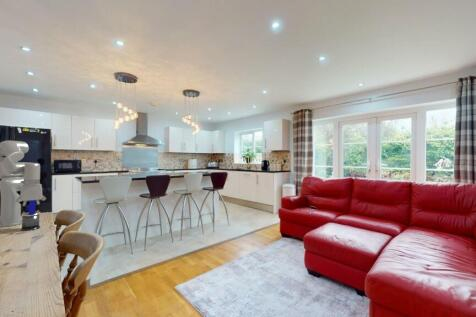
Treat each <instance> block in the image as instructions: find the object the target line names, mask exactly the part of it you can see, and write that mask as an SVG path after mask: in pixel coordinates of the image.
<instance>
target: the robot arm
mask: <svg viewBox="0 0 476 317" xmlns="http://www.w3.org/2000/svg"><path fill="white" fill-rule="evenodd" d="M29 150H30V147H29V144H28V143H27V142H26V141H22V140H4V141H0V227H1V228H4V227H12V226H13V227H14V226H19V225H22V219H21V218H22V216H21V214H22V212H21V211H23V212H25V213H27V212H26V206H27V202H30V201H36V212H37V211H39V210H40V204H41V203H42V202H44V201H46V200H47V197H46V196H45V195H43V187H42V186H43V185H42V184H41V183H40V182H41V181H40V180H41V164H40V163H38V162H24V161H23V162H19V161H21V160H22V159H24V157H25V154H27V153H28V152H29ZM4 156H5V157H4ZM18 192H20V194H19V193H18ZM21 209H22V210H21Z"/></svg>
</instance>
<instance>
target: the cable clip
mask: <svg viewBox="0 0 476 317" xmlns="http://www.w3.org/2000/svg"><path fill="white" fill-rule="evenodd" d="M36 203H37V202H36V200H34V201H29V204H28V205H26V212H25V213H29V214H33V213H35V212H37V211H36Z"/></svg>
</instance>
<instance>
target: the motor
mask: <svg viewBox="0 0 476 317" xmlns="http://www.w3.org/2000/svg"><path fill="white" fill-rule="evenodd" d="M40 215H41V212H40V210H38V211H36V212H35V213H33V214H29V212H24V211H23V212H22V213H21V218H22V219H21V220H22V224H21V228H20V231H21V232H31V230H32V231H36V230H39V229H41V225H40ZM35 229H36V230H35Z"/></svg>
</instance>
